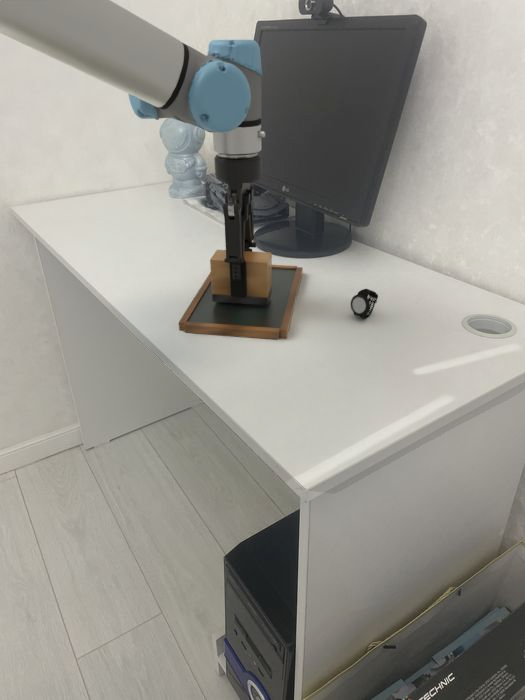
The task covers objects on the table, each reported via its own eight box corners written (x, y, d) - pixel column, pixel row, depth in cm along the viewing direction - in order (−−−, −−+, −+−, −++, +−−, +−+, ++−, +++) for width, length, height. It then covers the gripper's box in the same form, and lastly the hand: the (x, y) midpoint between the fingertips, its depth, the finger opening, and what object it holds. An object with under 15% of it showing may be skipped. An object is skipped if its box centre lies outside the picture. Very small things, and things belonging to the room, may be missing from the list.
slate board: (178, 332, 87) (177, 324, 86) (217, 268, 111) (217, 261, 110) (286, 340, 85) (286, 332, 84) (302, 273, 109) (302, 266, 108)
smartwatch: (346, 314, 92) (348, 289, 90) (371, 309, 94) (374, 284, 91) (358, 324, 89) (361, 298, 86) (384, 319, 91) (387, 293, 88)
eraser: (212, 301, 93) (209, 259, 89) (219, 290, 97) (216, 249, 93) (267, 305, 91) (267, 262, 87) (271, 293, 96) (271, 252, 91)
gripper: (251, 166, 73) (253, 313, 85) (270, 143, 88) (270, 270, 100) (199, 165, 74) (209, 310, 86) (227, 142, 89) (232, 268, 102)
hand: (242, 288), depth 93 cm, fingers closed on eraser, 5 cm apart
